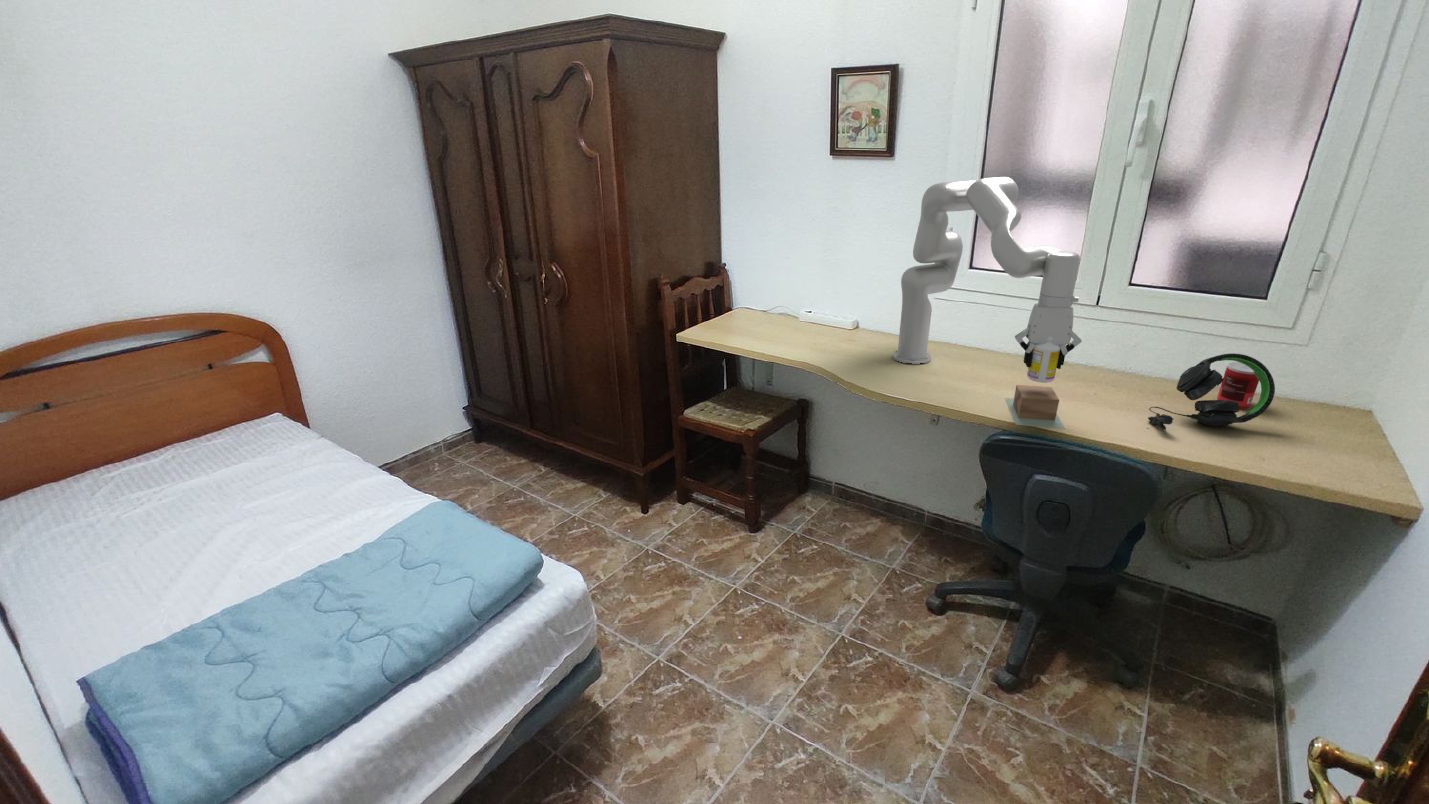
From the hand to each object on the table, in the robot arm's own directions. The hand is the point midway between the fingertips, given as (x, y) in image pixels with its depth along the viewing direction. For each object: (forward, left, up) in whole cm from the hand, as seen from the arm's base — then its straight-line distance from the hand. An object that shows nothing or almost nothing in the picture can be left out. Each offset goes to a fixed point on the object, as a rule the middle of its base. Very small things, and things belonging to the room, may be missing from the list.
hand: (1042, 365), depth 171 cm
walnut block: (0, 0, -14) cm, 14 cm away
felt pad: (0, 0, -14) cm, 14 cm away
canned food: (-18, +55, -14) cm, 60 cm away
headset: (-1, +41, -14) cm, 44 cm away
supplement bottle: (0, 0, -4) cm, 4 cm away
